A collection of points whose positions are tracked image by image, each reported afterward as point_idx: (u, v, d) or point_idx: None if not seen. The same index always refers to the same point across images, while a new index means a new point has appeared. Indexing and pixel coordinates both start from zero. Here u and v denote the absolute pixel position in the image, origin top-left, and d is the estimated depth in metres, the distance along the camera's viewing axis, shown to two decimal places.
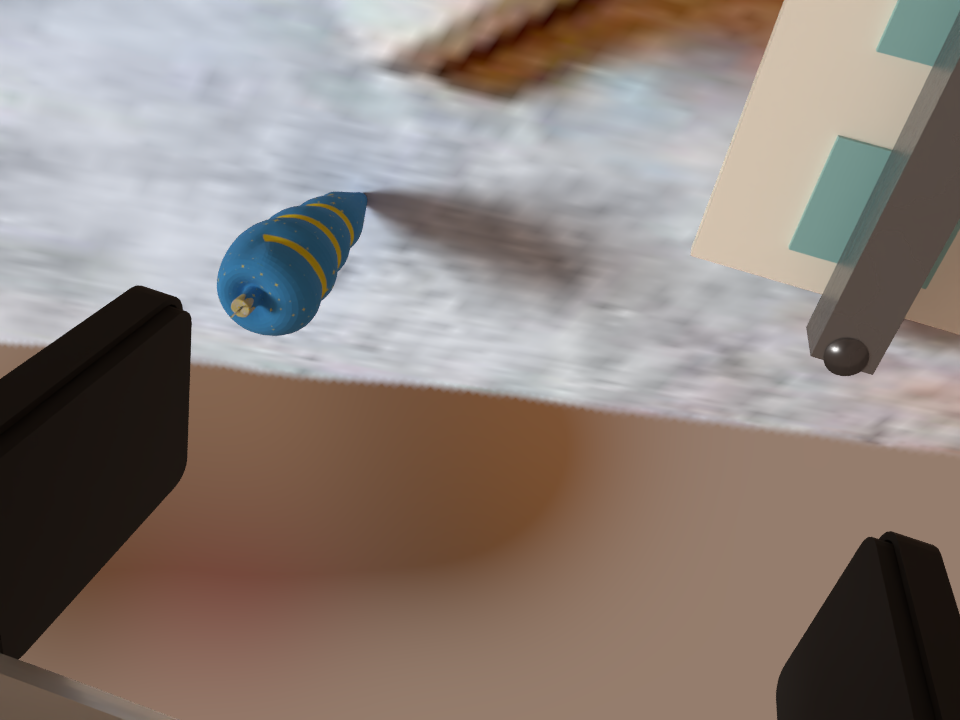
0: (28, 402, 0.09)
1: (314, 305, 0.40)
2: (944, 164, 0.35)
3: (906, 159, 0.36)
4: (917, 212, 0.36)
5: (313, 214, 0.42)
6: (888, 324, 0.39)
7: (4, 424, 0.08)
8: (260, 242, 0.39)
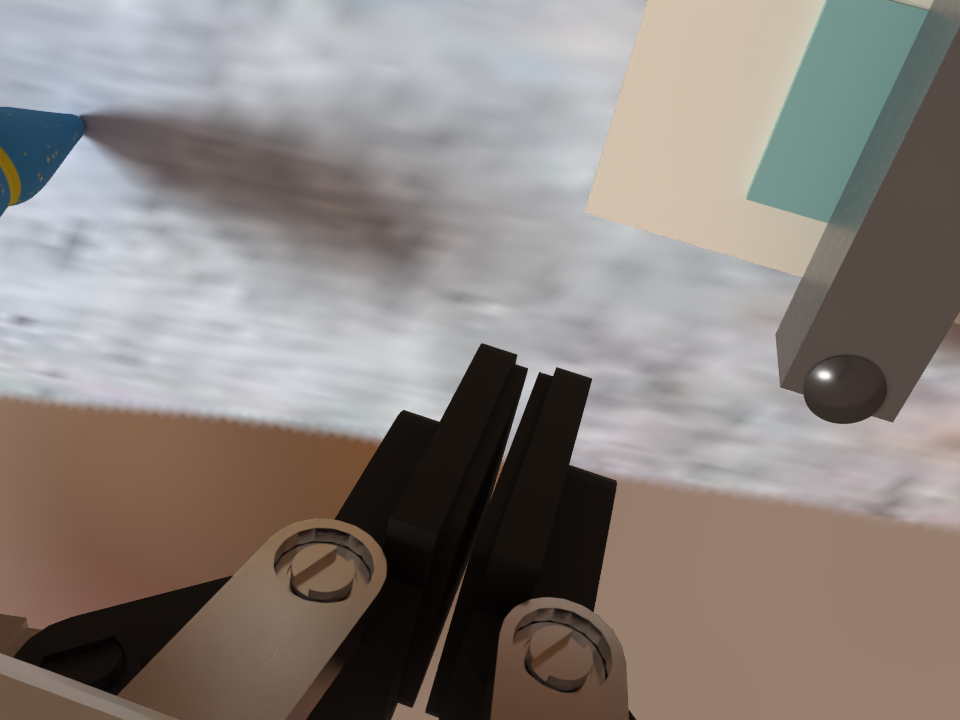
0: (461, 467, 0.09)
1: None
2: None
3: None
4: None
5: None
6: (924, 331, 0.21)
7: (456, 490, 0.09)
8: None
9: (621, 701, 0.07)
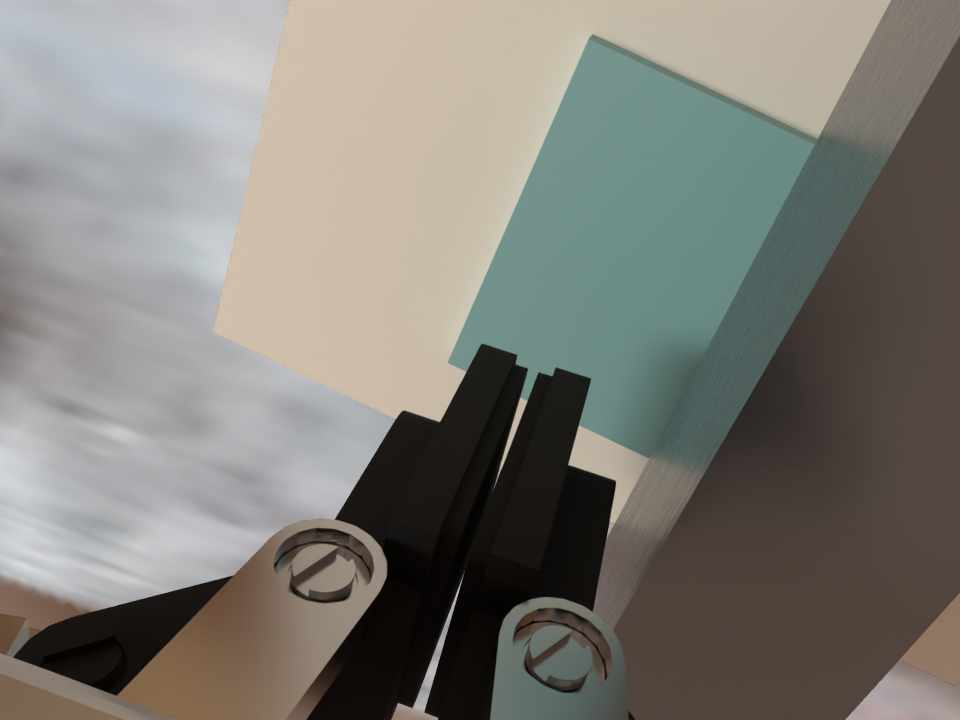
0: (461, 467, 0.09)
1: None
2: None
3: (864, 179, 0.08)
4: (893, 414, 0.08)
5: None
6: None
7: (456, 489, 0.09)
8: None
9: (621, 701, 0.07)
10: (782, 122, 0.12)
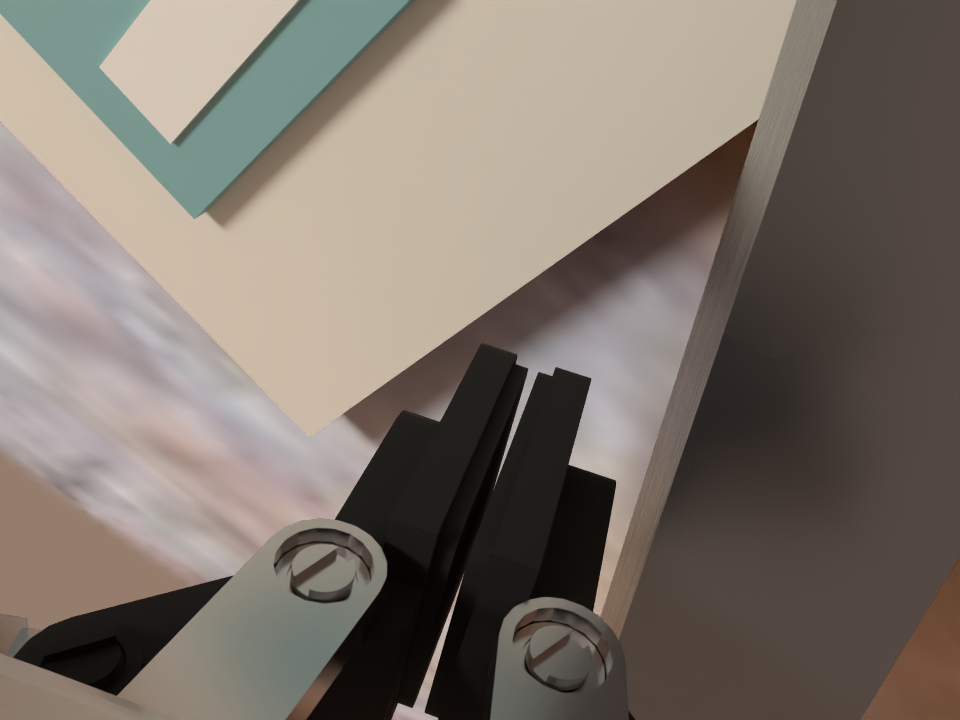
0: (462, 467, 0.09)
1: None
2: None
3: (783, 142, 0.08)
4: (854, 374, 0.08)
5: None
6: None
7: (457, 490, 0.09)
8: None
9: (621, 701, 0.07)
10: None
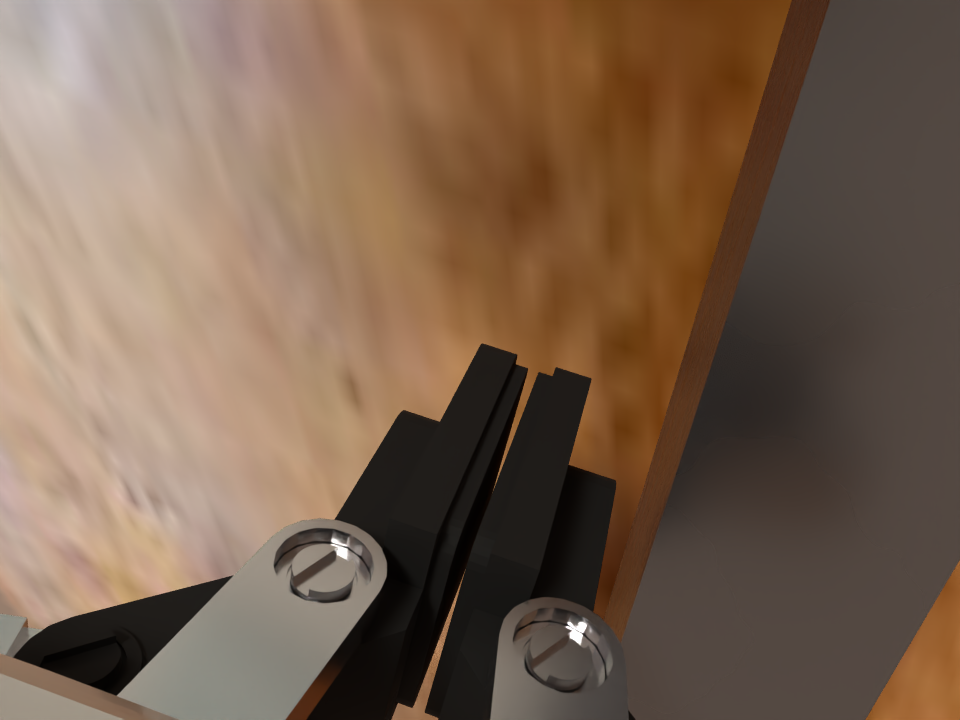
0: (461, 466, 0.09)
1: None
2: None
3: (783, 127, 0.07)
4: (859, 363, 0.08)
5: None
6: None
7: (456, 489, 0.09)
8: None
9: (621, 701, 0.07)
10: None
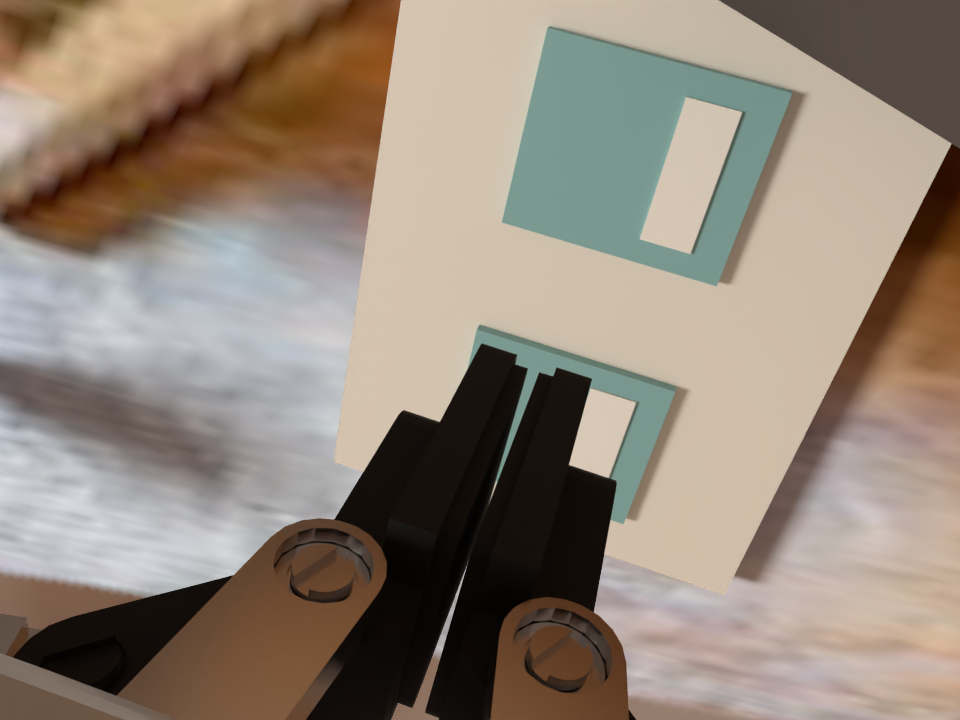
0: (461, 466, 0.09)
1: None
2: None
3: None
4: None
5: None
6: None
7: (456, 489, 0.09)
8: None
9: (621, 701, 0.07)
10: (563, 350, 0.29)
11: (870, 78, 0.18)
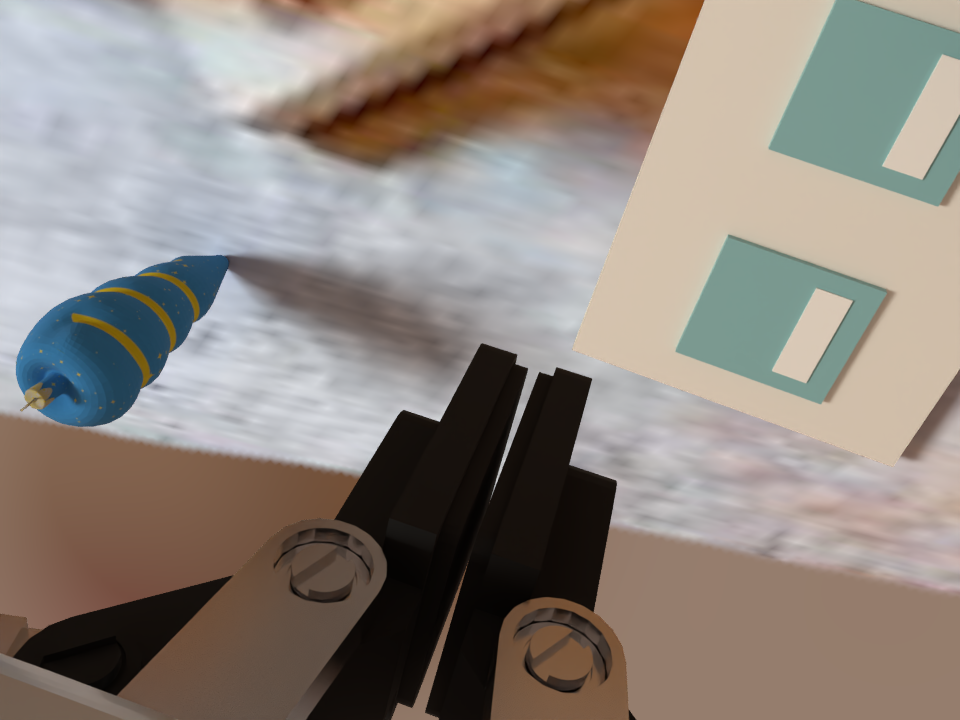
0: (461, 466, 0.09)
1: (127, 397, 0.35)
2: None
3: None
4: None
5: (143, 288, 0.37)
6: None
7: (456, 489, 0.09)
8: (67, 323, 0.34)
9: (621, 701, 0.07)
10: (795, 257, 0.37)
11: None
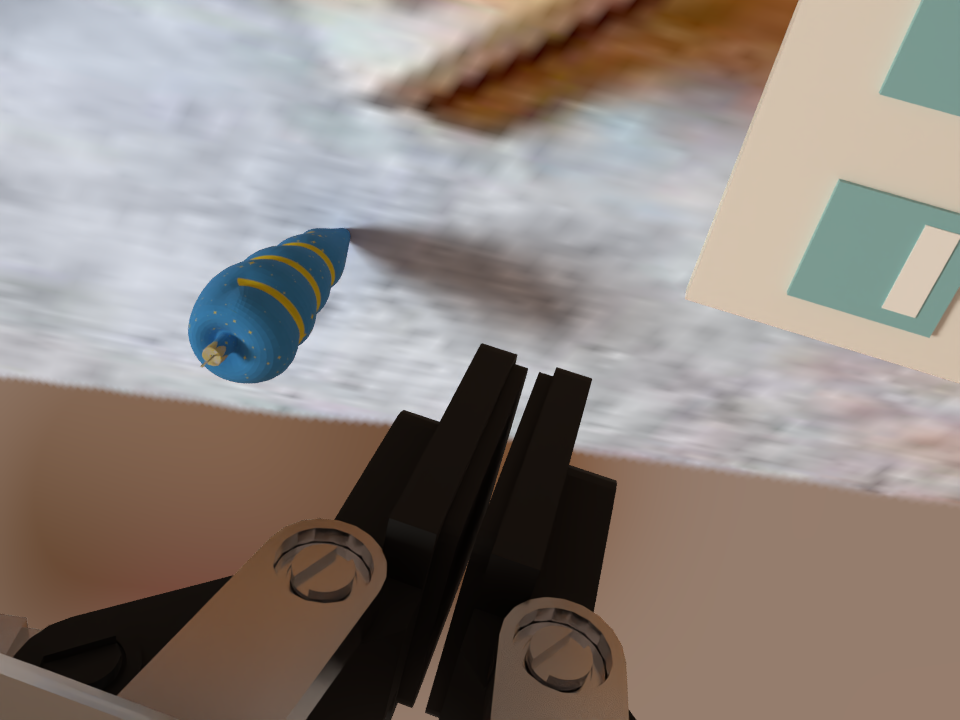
0: (461, 466, 0.09)
1: (291, 353, 0.38)
2: None
3: None
4: None
5: (292, 255, 0.40)
6: None
7: (456, 490, 0.09)
8: (234, 286, 0.37)
9: (621, 701, 0.07)
10: (904, 197, 0.39)
11: None
